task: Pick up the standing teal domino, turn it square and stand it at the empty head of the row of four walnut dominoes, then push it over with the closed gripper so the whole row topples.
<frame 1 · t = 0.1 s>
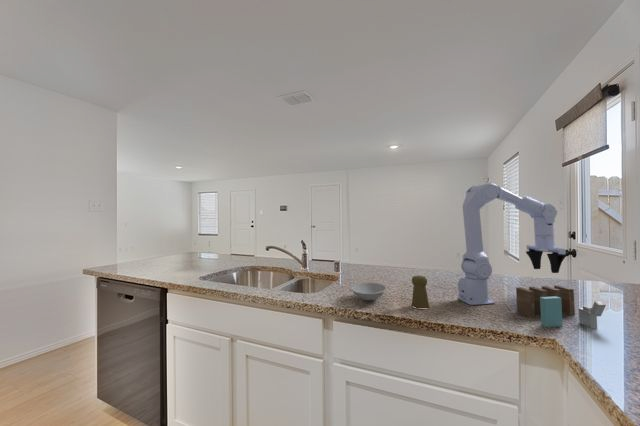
hand: (545, 270, 104), 10 cm above the worktop, tool pointing down, fingers open, 7 cm apart
teal domino: (551, 325, 78), on the worktop
walnut domino 4: (564, 311, 88), on the worktop
walnut domino 3: (551, 312, 88), on the worktop
olive upright piece: (420, 307, 98), on the worktop
walnut domino 1: (525, 314, 87), on the worktop
walnut domino 2: (538, 313, 87), on the worktop
dish: (369, 300, 107), on the worktop
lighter: (592, 328, 76), on the worktop
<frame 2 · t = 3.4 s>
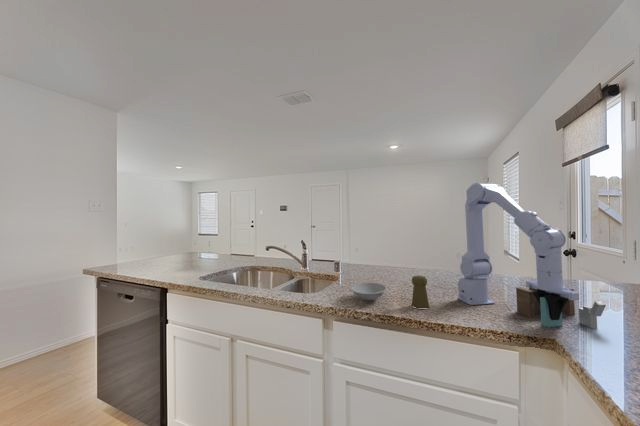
hand: (551, 318, 78), 2 cm above the worktop, tool pointing down, fingers closed on teal domino, 2 cm apart
teal domino: (551, 325, 78), on the worktop, touching gripper
everything else where it was.
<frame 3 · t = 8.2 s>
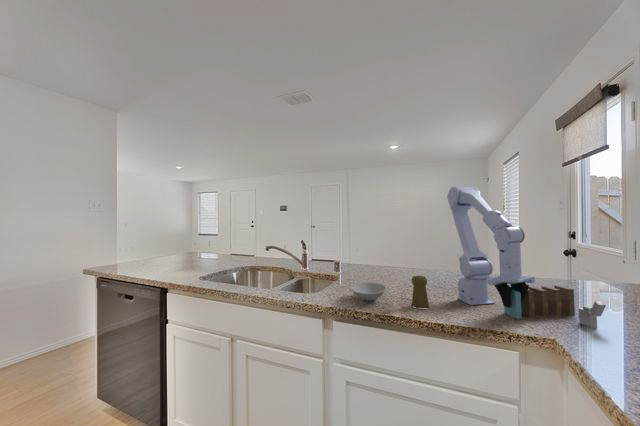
hand: (512, 306, 87), 3 cm above the worktop, tool pointing down, fingers open, 3 cm apart
teal domino: (512, 315, 87), on the worktop
everything else where it was.
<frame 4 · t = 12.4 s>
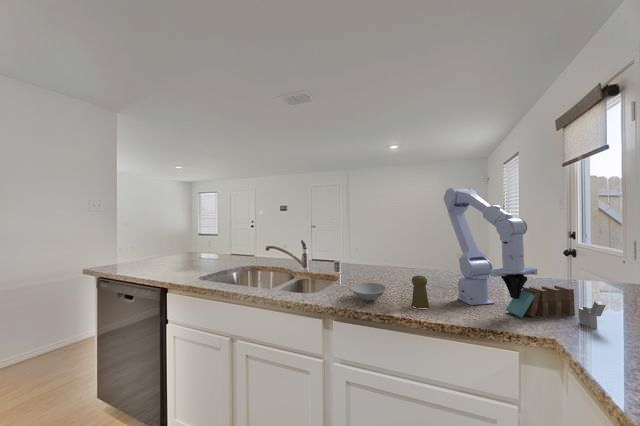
hand: (514, 298, 87), 5 cm above the worktop, tool pointing down, fingers closed
teal domino: (513, 313, 87), on the worktop, tilted 36°, touching walnut domino 1
walnut domino 1: (525, 313, 87), on the worktop, tilted 17°, touching teal domino
everything else where it was.
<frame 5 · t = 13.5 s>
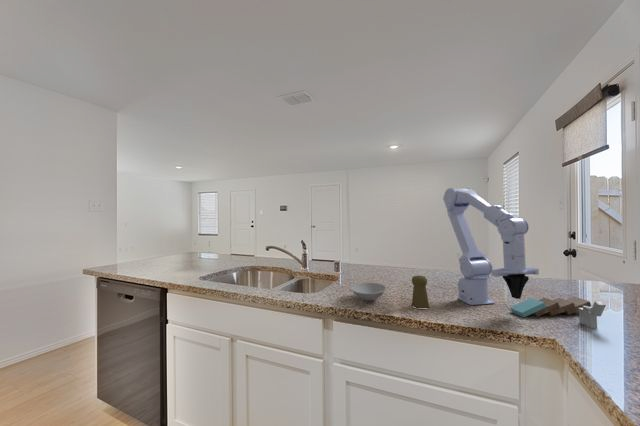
hand: (516, 297, 87), 5 cm above the worktop, tool pointing down, fingers closed
teal domino: (516, 312, 87), point 1 cm above the worktop, tilted 69°, touching walnut domino 1
walnut domino 4: (568, 311, 88), on the worktop, tilted 90°, touching walnut domino 3
walnut domino 3: (560, 309, 88), point 1 cm above the worktop, tilted 72°, touching walnut domino 2, walnut domino 4
walnut domino 1: (529, 311, 87), point 1 cm above the worktop, tilted 70°, touching teal domino, walnut domino 2
walnut domino 2: (544, 311, 87), point 1 cm above the worktop, tilted 72°, touching walnut domino 1, walnut domino 3
everything else where it was.
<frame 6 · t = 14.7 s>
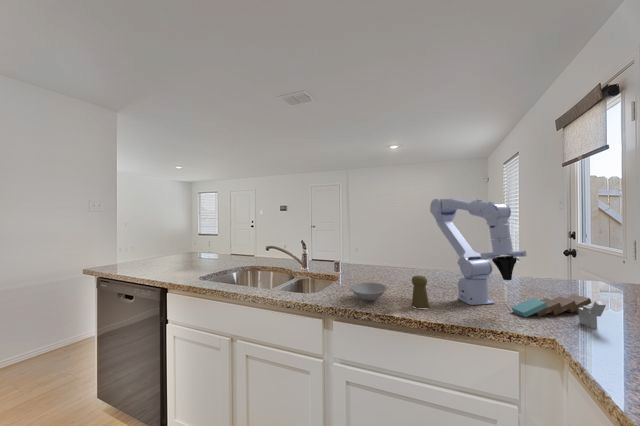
hand: (507, 280, 90), 11 cm above the worktop, tool pointing down, fingers closed
walnut domino 3: (562, 307, 88), point 1 cm above the worktop, tilted 72°, touching walnut domino 2, walnut domino 4
walnut domino 1: (531, 311, 87), point 1 cm above the worktop, tilted 72°, touching teal domino
walnut domino 2: (546, 310, 88), point 1 cm above the worktop, tilted 70°, touching walnut domino 3
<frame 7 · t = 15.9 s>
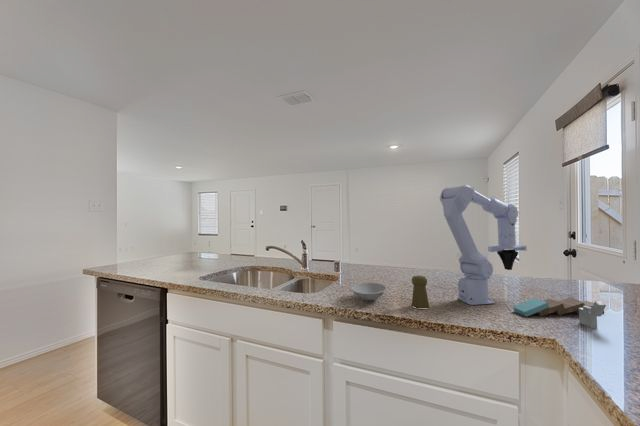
hand: (508, 269, 107), 10 cm above the worktop, tool pointing down, fingers closed
walnut domino 3: (572, 307, 88), point 2 cm above the worktop, tilted 90°, touching walnut domino 2, walnut domino 4
walnut domino 1: (533, 311, 87), point 1 cm above the worktop, tilted 73°, touching teal domino, walnut domino 2
walnut domino 2: (552, 309, 88), point 1 cm above the worktop, tilted 71°, touching walnut domino 1, walnut domino 3
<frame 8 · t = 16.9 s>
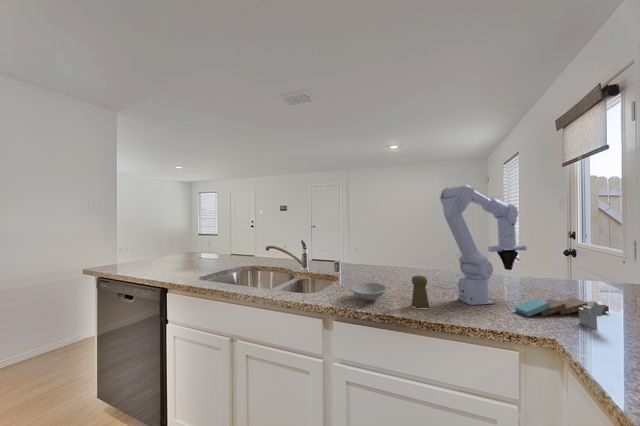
hand: (508, 269, 107), 10 cm above the worktop, tool pointing down, fingers closed
walnut domino 3: (575, 307, 88), point 1 cm above the worktop, tilted 90°, touching walnut domino 4
walnut domino 2: (554, 309, 88), point 1 cm above the worktop, tilted 72°, touching walnut domino 1
at the end: teal domino 3.1 cm from the target spot, point 0.8 cm above the worktop; walnut domino 2 tilted 72°; walnut domino 4 tilted 90° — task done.
